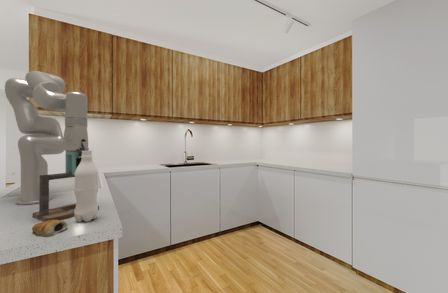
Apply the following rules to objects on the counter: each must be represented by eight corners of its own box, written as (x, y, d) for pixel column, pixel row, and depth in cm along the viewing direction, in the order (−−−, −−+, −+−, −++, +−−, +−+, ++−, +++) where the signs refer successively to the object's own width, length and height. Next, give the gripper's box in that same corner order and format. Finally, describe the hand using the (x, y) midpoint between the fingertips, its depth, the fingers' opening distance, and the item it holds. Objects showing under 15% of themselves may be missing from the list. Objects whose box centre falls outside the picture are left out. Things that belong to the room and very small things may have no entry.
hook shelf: (32, 216, 77) (32, 173, 77) (81, 205, 92) (81, 169, 92) (49, 223, 71) (49, 176, 71) (98, 209, 86) (99, 171, 86)
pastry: (24, 235, 62) (24, 222, 62) (47, 226, 69) (47, 215, 69) (49, 238, 60) (49, 225, 60) (70, 229, 67) (70, 217, 67)
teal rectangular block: (65, 173, 83) (65, 151, 83) (78, 172, 88) (78, 151, 88) (73, 174, 81) (73, 151, 81) (87, 173, 85) (87, 151, 85)
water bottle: (86, 224, 70) (86, 151, 70) (68, 222, 72) (69, 150, 72) (102, 217, 78) (103, 150, 77) (86, 215, 79) (86, 150, 79)
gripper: (54, 123, 85) (54, 167, 85) (78, 121, 77) (78, 169, 77) (75, 125, 92) (75, 165, 92) (98, 123, 84) (98, 167, 83)
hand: (76, 167), depth 84 cm, fingers closed on teal rectangular block, 5 cm apart
